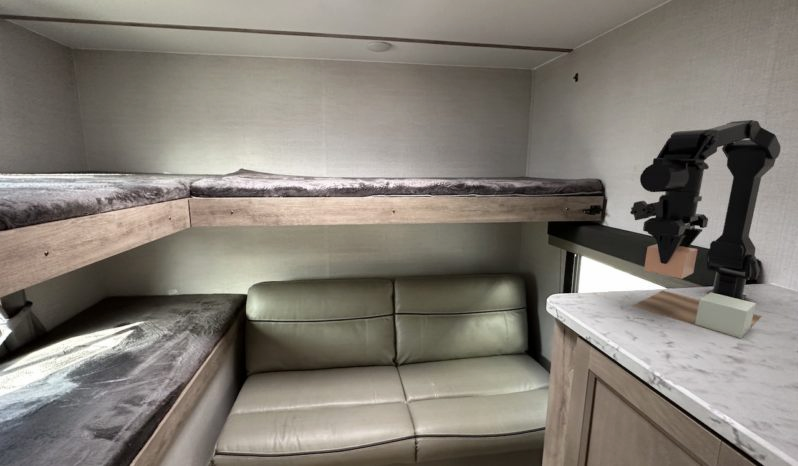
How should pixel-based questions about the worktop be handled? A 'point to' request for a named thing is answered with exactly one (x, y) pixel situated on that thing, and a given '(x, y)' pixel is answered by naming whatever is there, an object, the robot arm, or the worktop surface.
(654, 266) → the salmon foam cube
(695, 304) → the walnut board
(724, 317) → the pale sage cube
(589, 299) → the worktop surface
